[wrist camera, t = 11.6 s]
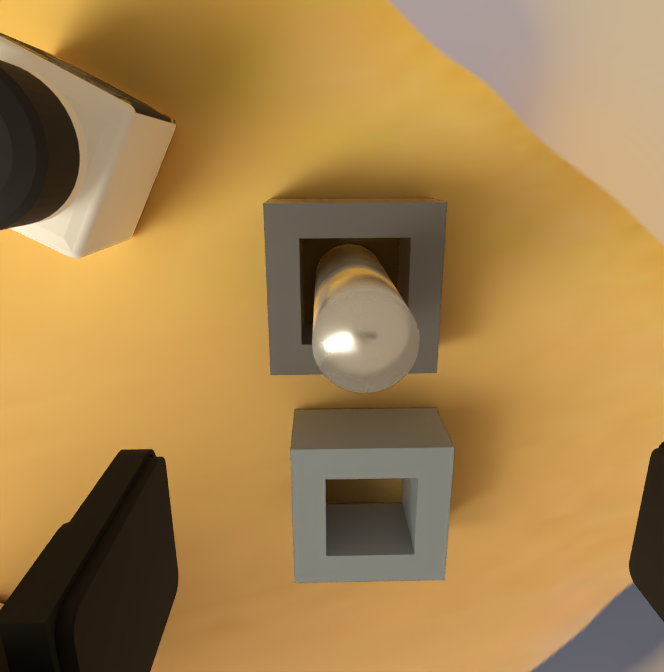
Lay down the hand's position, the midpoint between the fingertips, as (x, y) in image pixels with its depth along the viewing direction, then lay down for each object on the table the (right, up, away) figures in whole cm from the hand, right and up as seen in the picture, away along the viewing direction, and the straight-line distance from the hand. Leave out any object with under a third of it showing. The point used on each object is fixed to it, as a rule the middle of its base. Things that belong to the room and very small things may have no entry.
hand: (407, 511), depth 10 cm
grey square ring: (0, +7, +21) cm, 22 cm away
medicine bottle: (-14, +13, +19) cm, 27 cm away
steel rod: (0, +7, +21) cm, 22 cm away
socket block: (+1, -6, +25) cm, 25 cm away
